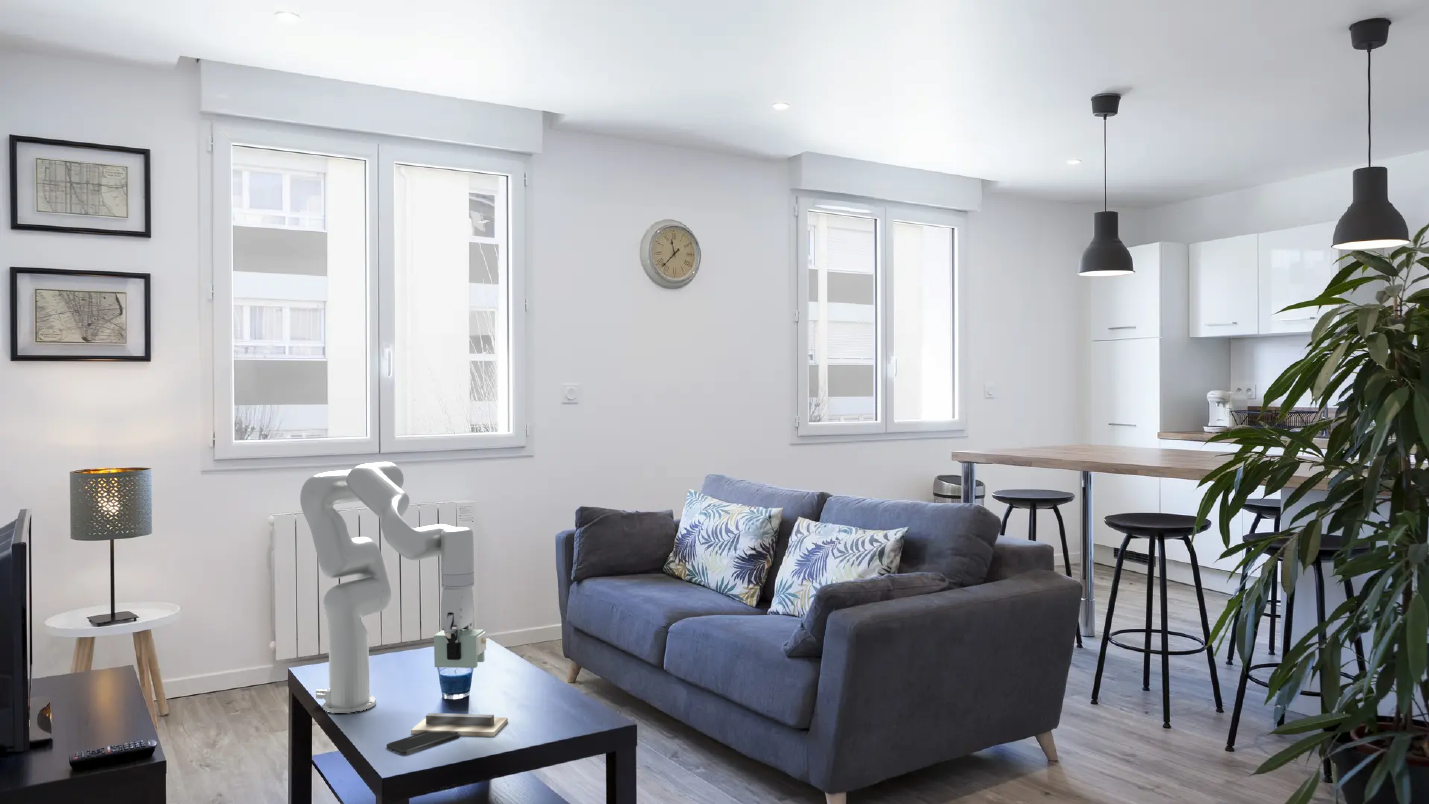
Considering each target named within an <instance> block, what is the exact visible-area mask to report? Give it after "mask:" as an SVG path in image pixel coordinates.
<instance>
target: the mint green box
mask: <svg viewBox="0 0 1429 804" xmlns="http://www.w3.org/2000/svg"><path fill="white" fill-rule="evenodd" d="M452 633H454V634H455V636H456V632H452ZM445 636H446V635H445V633H444V630H442V629H441V630H440V631H438V632H437V633H436V634H433V647H434V648H433V651H434V652H433V656H434V657H433V659H434V668H454V669H455V668H459V669H460V668H462V669H464V668H465V669H469V668H470V669H473V668H474V669H476V668H478V663H484V662H485V651H486V650H487V632H486V631H485V629H472V628H471V629H462V630H460V638H459V642H461V659H460V660H448V659H447V643H446V637H445Z"/></svg>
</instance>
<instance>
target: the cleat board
mask: <svg viewBox="0 0 1429 804" xmlns="http://www.w3.org/2000/svg"><path fill="white" fill-rule="evenodd" d="M508 721H509V719H508V717H495V714H480V713H476V714H475V713H447V712H446V713H442V712H429V713H427V714H426V715H425V718H423V719H422V720H421V721H420V722H418V723H417V724H416V725H415V726H414V727H412V728H411V729H410V735H417V734H420V733H423V732H426V731H427V732H442V733H455V732H458V733H459V736H463V737H464V736H465V737H466V736H469V737H495V736H497V734H498V733H499V732H500V731H501V730H502V729H503V728H504V726H505V725H506V724H507V723H508ZM498 731H499V732H498Z"/></svg>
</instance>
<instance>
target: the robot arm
mask: <svg viewBox="0 0 1429 804" xmlns="http://www.w3.org/2000/svg"><path fill="white" fill-rule="evenodd" d="M404 480H405V479H404V474H403V472H402V469H401V468H400V467H399V466H398V465H397V464H395V463H393V462H390V461H380V462H371V463H364V464H363V463H362V464H359V465H356V466H354V467H353V468H351V469H343V470H333V471H325V472H320V473H317V474H313V475H312V476H311V477H309V478H308V479H306V480H305V482H304V483H303V485H302V487H301V490H300V497H299V500H300V502H299V503H300V507H301V510H302V511H301V512H302V513H303V515H304V518H305V519H306V520H305V521H306V522H307V524H308V527H309V530H310V532H311V536H312V541H313V543H314V544H313V545H314V549H315V552H316V555H317V559H318V563H319V567H320V570H321V573H322V574H323V576H324V577H326V578H328V579H331V580H336V579H341V578H347V577H351V576H356V578H357V579H353V580H350V581H345V582H341V583H338V584H336V585H333V586H332V587H331V588H329V590H328V591H326V593H325V594H324V598H323V611H324V615H325V618H326V625H327V635H328V667H329V668H328V669H329V670H328V674H329V675H328V677H329V678H328V680H329V683H328V685H329V688H328V689H326V688H317V689H316V692H315V699H316V700H322V699H323V700H324V701H325V702H324V703H323V706H322V709H323V711H324V710H325V712H326V711H329V712H334V713H347V714H351V713H350V712H355V711H360V712H362V711H363V710H364V711H366V709H367V710H369V709H371V708H373V707H375V705H376V704H377V699H376V697H375V696H374V695H370V652H369V651H370V649H369V648H370V646H369V634H368V630H367V628H366V626H365V625H364V623H363V620H362V618H364V617H367V616H370V615H374V614H377V613H381V612H382V611H384V610H385V609H387V608H388V606H389V605H390V603H391V600H392V599H391V598H392V590H391V584H390V581H389V577H388V574H387V570H386V566H385V563H384V560H383V555H382V552H381V549H380V547H379V546H378V544H377V543H376V542H375V540H373V539H371V538H369V537H368V536H357V537H351V536H350V534H349V532H348V527H347V522H346V521H345V519H344V518H343V516H342V515H341V514H340V512H339V511H338V510H336V509H335V508H334V505H340V504H347V503H348V504H349V503H354V502H356V503H357V502H361V503H363V504H364V505H365V506H366V507H367V508H369V509H370V511H372V512H373V514H375V515H376V516H377V517H378V518H379V519H380V527H381V528H380V529H381V532H382V534H383V537H384V540H385V541H386V543H387V544H388V545H389V546H390V547H391V548H392V549H393V550H395V551H396V553H398V554H400V556H402V557H403V558H406V559H407V560H409V561H421V560H425V559H429V558H434V557H439V556H440V567H441V569H440V570H441V571H440V572H441V573H440V574H441V588H442V592H441V599H440V600H441V601H440V602H441V603H440V630H441V631H442V630H444V633H445V635H446V636H445V637H446V643H447V659H448V660H460V659H461V642H459V638H460V630H462V629H471V630H472V623H473V621H474V617H475V616H474V613H475V611H474V606H475V605H474V594H473V592H474V591H473V587H474V586H475V562H474V559H475V557H474V555H475V554H474V553H475V552H474V545H475V544H474V532H473V530H472V529H471V528H469V527H466V526H452V525H448V524H445V523H443V524H442V523H438V524H432V525H425V526H420V527H416V528H414V527H412V526H411V525H410V524H408V523H407V521H405V520H404V519H403V517H402V516H403V515H404V514H405V513H406V511H407V509H408V507H409V505H410V497H409V494H407V492H405V491H404V490H403V489H402V487H403V486H404ZM452 632H456V636H455V634H454V633H452ZM334 713H333V714H334ZM355 713H356V712H355Z"/></svg>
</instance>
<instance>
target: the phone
mask: <svg viewBox="0 0 1429 804" xmlns="http://www.w3.org/2000/svg"><path fill="white" fill-rule="evenodd" d="M459 738H460V735H459V733H458V732H455V733H442V732H427V731H426V732H423V733H420V734H412V735H411V736H408V737H404V738H401V739H398V740H394V741H391V742H389V743H387V744H386V749H387V748H388V749H389V751H391V750H392V751H391V752H393V751H395V752H394V753H396V754H398V753H399V755H400V754H402V755H401V756H407V755H411V754H415V753H417V752H420V751H423V750H426V749H429V748H432V747H436V746H438V745H441V744H444V743H448V742H450V741H453V740H457V739H459ZM388 749H387V750H388Z"/></svg>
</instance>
